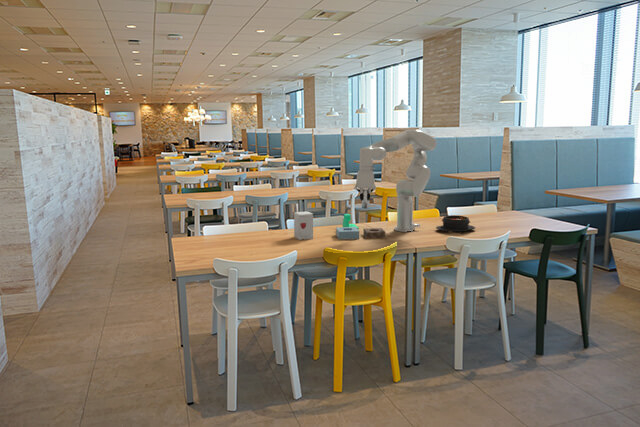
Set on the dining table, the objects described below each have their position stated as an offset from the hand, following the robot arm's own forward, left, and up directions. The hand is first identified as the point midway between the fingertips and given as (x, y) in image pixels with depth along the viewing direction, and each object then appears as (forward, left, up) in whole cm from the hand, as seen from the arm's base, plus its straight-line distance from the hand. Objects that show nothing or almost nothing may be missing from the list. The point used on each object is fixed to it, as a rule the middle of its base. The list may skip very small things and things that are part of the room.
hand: (364, 200), depth 285 cm
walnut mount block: (-6, 0, -22) cm, 23 cm away
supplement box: (+36, 0, -22) cm, 42 cm away
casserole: (-59, -9, -22) cm, 64 cm away
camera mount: (+5, -19, -22) cm, 30 cm away
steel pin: (0, 0, -5) cm, 5 cm away
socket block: (+10, 0, -22) cm, 24 cm away
